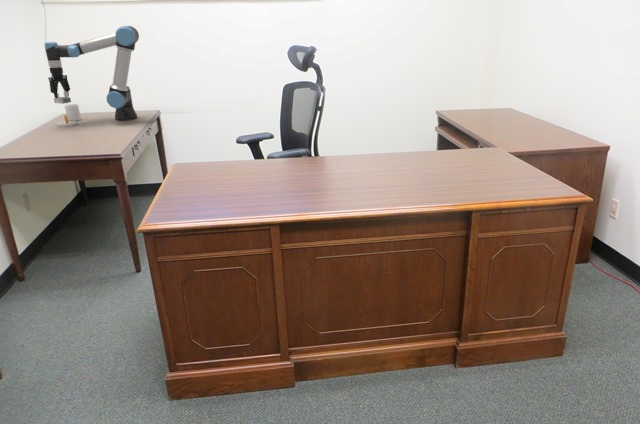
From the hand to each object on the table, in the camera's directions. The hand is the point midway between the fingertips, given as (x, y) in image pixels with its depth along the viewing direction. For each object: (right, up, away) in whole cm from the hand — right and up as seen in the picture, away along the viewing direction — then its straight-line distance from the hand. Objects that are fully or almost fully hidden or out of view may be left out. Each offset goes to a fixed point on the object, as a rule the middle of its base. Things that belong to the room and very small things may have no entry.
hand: (63, 102), depth 315 cm
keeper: (0, -15, +6) cm, 16 cm away
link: (0, 0, 0) cm, 0 cm away
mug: (-4, -8, +23) cm, 24 cm away
